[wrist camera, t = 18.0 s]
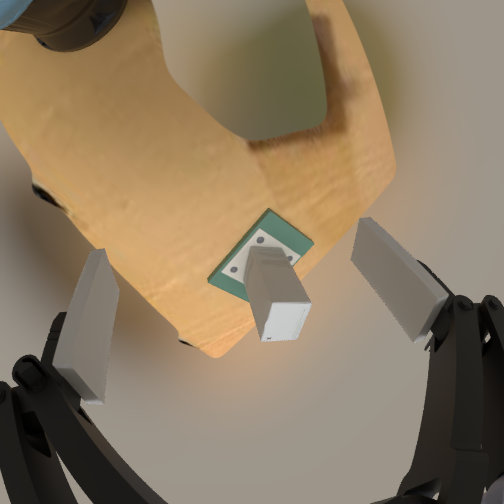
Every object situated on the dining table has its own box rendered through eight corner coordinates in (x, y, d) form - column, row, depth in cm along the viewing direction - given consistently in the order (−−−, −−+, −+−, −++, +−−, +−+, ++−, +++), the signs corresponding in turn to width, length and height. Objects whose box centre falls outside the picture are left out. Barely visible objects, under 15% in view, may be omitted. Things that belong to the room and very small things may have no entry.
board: (253, 301, 60) (254, 305, 59) (207, 278, 54) (208, 283, 53) (312, 240, 55) (315, 244, 53) (268, 208, 49) (270, 211, 47)
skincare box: (272, 281, 56) (297, 341, 44) (239, 280, 54) (258, 344, 42) (282, 245, 52) (315, 303, 39) (248, 243, 50) (272, 304, 37)
